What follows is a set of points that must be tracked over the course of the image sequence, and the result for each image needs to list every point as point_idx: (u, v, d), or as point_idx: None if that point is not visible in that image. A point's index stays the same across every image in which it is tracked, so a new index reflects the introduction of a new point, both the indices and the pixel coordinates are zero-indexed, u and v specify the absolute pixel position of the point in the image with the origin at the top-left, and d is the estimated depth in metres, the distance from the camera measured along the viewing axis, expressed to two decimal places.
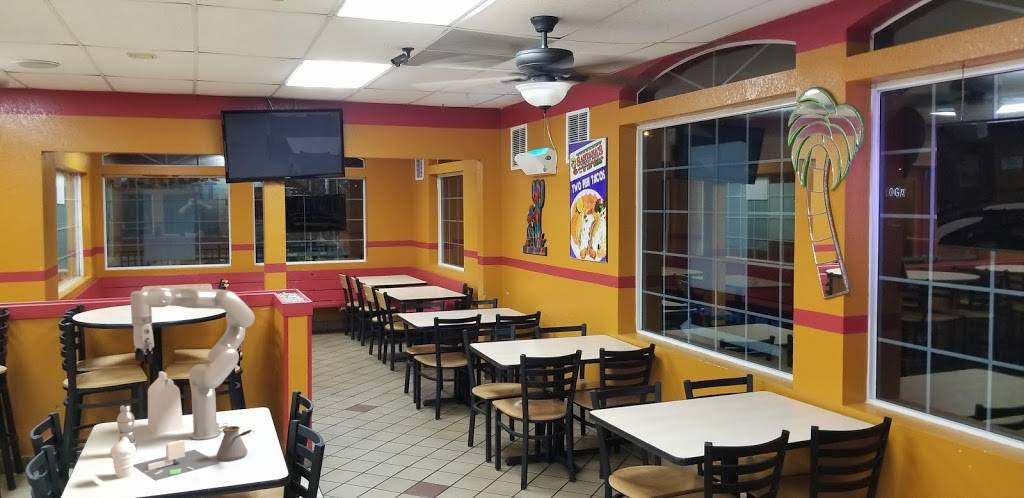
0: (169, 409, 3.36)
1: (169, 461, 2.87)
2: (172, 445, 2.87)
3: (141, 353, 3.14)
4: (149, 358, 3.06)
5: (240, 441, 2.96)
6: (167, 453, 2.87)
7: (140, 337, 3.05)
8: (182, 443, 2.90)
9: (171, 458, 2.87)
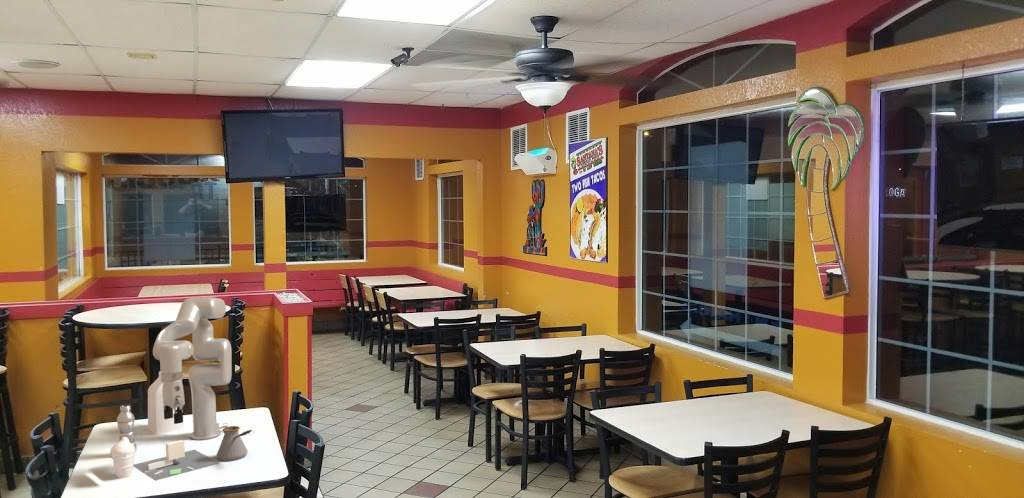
0: None
1: (169, 461, 2.87)
2: (172, 445, 2.87)
3: (170, 411, 2.91)
4: (179, 417, 2.84)
5: (240, 441, 2.96)
6: (167, 453, 2.87)
7: (170, 395, 2.83)
8: (182, 443, 2.90)
9: (171, 458, 2.87)
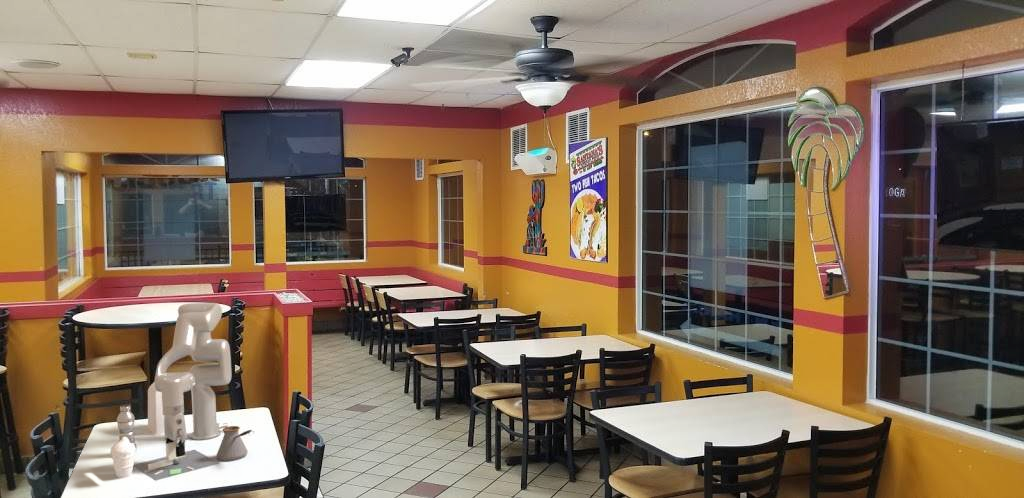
0: None
1: (169, 461, 2.87)
2: (172, 445, 2.87)
3: None
4: (181, 450, 2.85)
5: (240, 441, 2.96)
6: (167, 453, 2.87)
7: (172, 428, 2.84)
8: None
9: (171, 458, 2.87)
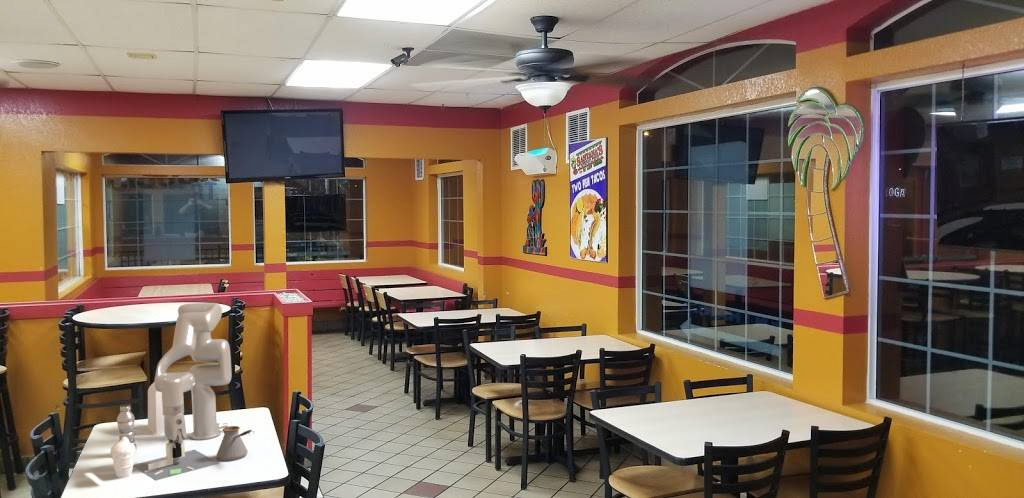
0: None
1: (169, 461, 2.87)
2: (172, 445, 2.87)
3: None
4: (178, 452, 2.87)
5: (240, 441, 2.96)
6: (167, 453, 2.87)
7: (172, 428, 2.84)
8: (182, 443, 2.90)
9: (171, 458, 2.87)
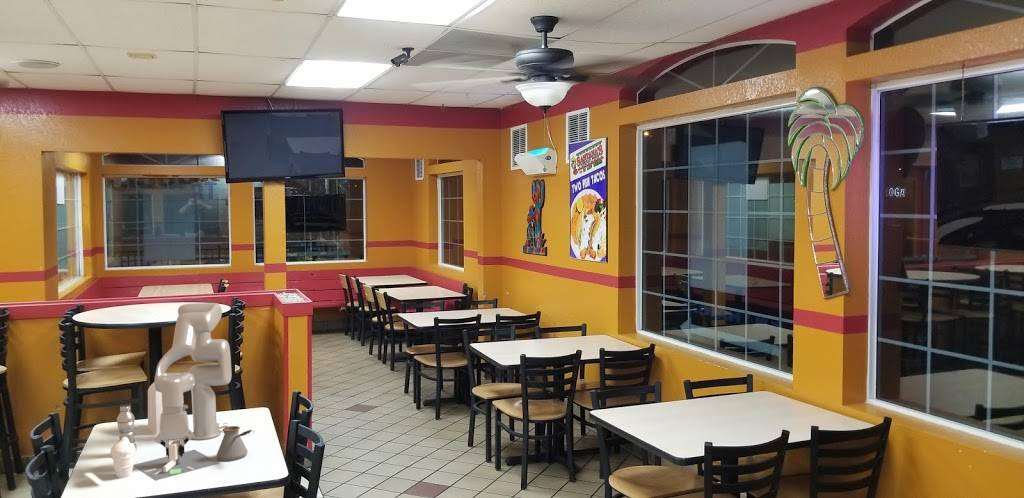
0: None
1: (174, 461, 2.87)
2: (176, 445, 2.87)
3: None
4: None
5: (240, 441, 2.96)
6: (172, 454, 2.86)
7: (184, 425, 2.88)
8: (180, 442, 2.91)
9: (176, 458, 2.87)
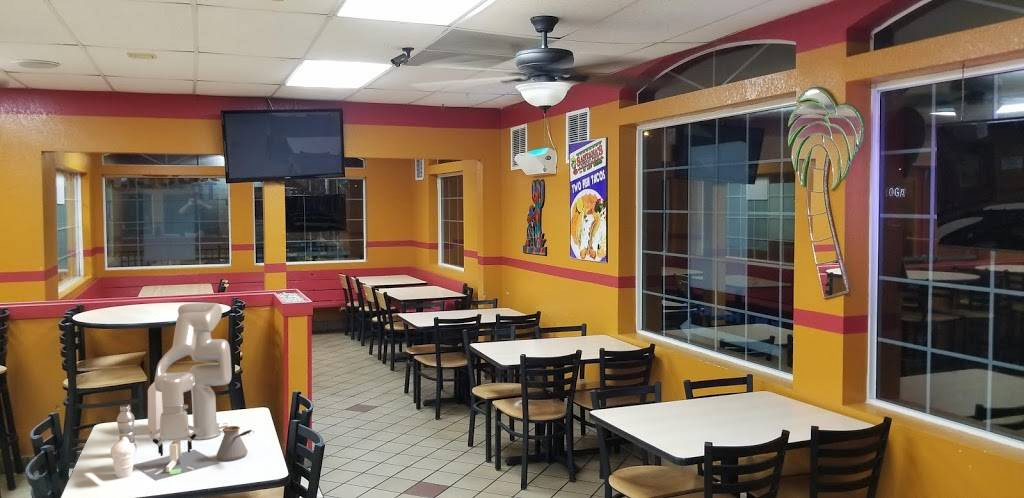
0: None
1: (175, 461, 2.87)
2: (177, 444, 2.87)
3: (162, 447, 2.88)
4: (191, 445, 2.91)
5: (240, 441, 2.96)
6: (173, 454, 2.86)
7: (184, 425, 2.88)
8: (180, 442, 2.91)
9: (177, 457, 2.87)
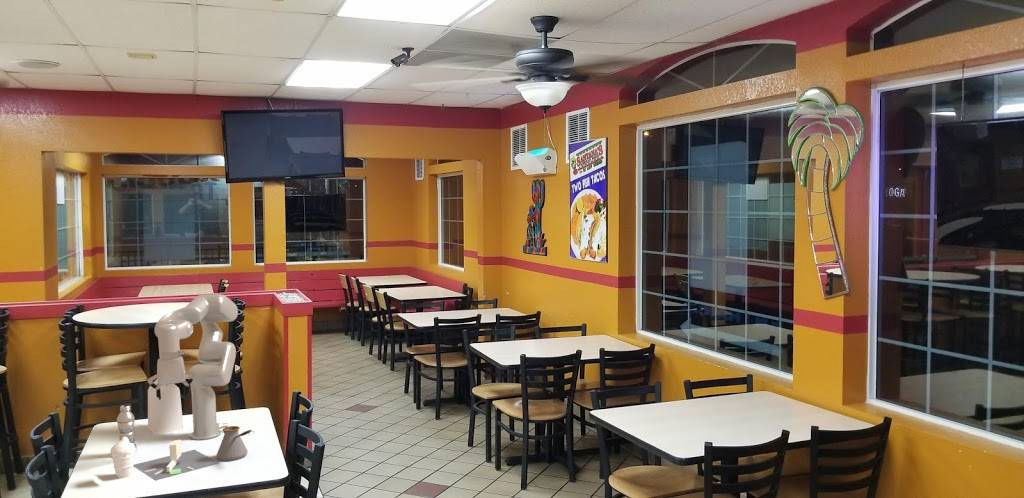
0: (169, 409, 3.36)
1: (175, 461, 2.87)
2: (177, 444, 2.87)
3: None
4: None
5: (240, 441, 2.96)
6: (173, 454, 2.86)
7: (181, 370, 2.99)
8: (180, 442, 2.91)
9: (177, 457, 2.87)
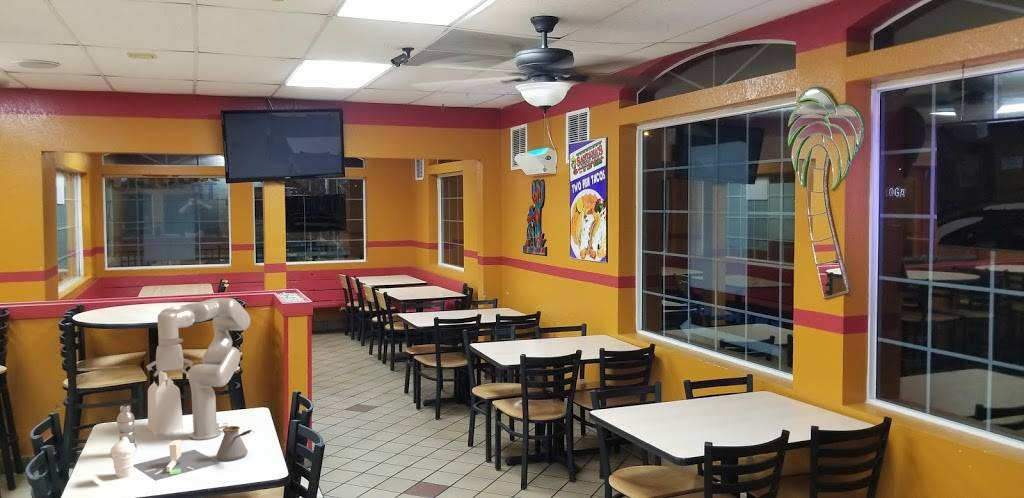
0: (169, 409, 3.36)
1: (175, 461, 2.87)
2: (177, 444, 2.87)
3: (158, 377, 3.05)
4: None
5: (240, 441, 2.96)
6: (173, 454, 2.86)
7: (179, 357, 3.05)
8: (180, 442, 2.91)
9: (177, 457, 2.87)
